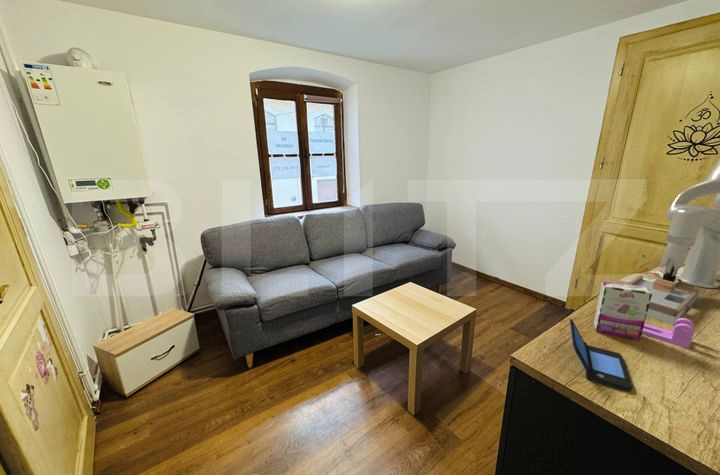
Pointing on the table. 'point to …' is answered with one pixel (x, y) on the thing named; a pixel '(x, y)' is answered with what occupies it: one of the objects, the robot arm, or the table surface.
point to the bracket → (673, 332)
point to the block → (664, 285)
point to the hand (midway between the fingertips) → (667, 283)
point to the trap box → (667, 301)
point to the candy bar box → (622, 309)
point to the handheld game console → (601, 363)
